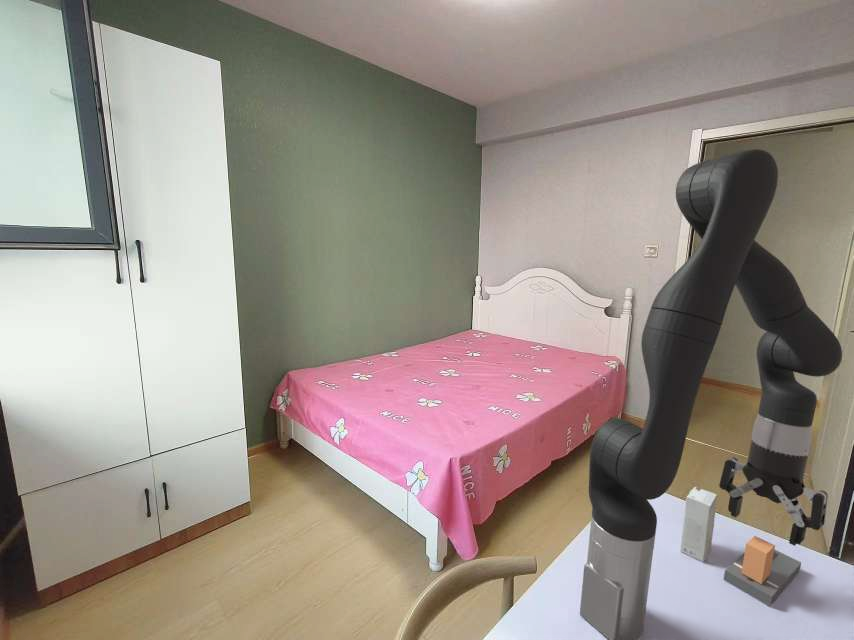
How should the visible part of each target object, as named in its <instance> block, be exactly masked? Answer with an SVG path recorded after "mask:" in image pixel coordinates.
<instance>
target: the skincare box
mask: <svg viewBox="0 0 854 640" xmlns="http://www.w3.org/2000/svg"><path fill="white" fill-rule="evenodd" d="M717 499H718V495H717V494H716V493H714V492H711V491H709V490H705V489H702V488H699V487H697V486H694V487H693V488H692V489H691V490H690V491H689V493H688V495H687V496H686V499H685V507H684V516H683V523H682V524H683V525H682V532H681V533H682V534H681V542H680V553H683V554H684V555H686V556H689V557H690V558H693V559H694V560H696V561H699V562H701V563H703V562H705V561H706V560H707V558H708V556H709V554H710V552H711V549H712V543H713V535H714V527H715V517H716V508H717Z"/></svg>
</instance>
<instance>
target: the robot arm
mask: <svg viewBox="0 0 854 640" xmlns="http://www.w3.org/2000/svg"><path fill="white" fill-rule="evenodd" d="M778 168H779V167H778V165H777V162H776V159H775V158H774V157H773V155H772V154H771V153H770V152H768V151H767V150H763V149H758V148H754V149H745V150H741V151H736V152H733V153H730V154H729V153H728V154H725V155H722V156H719V157H715V158H711V159H708V160H704V161H700V162H698V163H695V164H693V165H691V166H690V167H688V168H687V169H685V170H684V171H683V172H682V173H681V175H680V176H679V178H678V180H677V182H676V183H677V184H676V185H675V186H676V188H675V200H676V203H677V206H678V208H679V210H680V212H681V214H682V216H683V218H685V220H686V221H687V222H688V224H689V225H690V226H691V228H692V229H693V230H694V232H695V233H696V234H697V235H698V236H699V238H700V239H701V241H700V242H699V243H698V246H697V247H696V249H695V250H694V252H693V253H692V254H691V255H690V256H689V257H688V259H687V260H686V261H685V262H684V263H683V265H681V267H679V269H677V270H676V272H675V273H674V274H673V275H672V276H671V277H670V278H669V279H668V280H667V281H666V282H665V284H664V285H662V286H661V289H659V291H658V293H657V294H656V296H655V298H654V299H653V302H652V304H651V307H650V310H649V313H648V316H647V319H646V321H645V324H644V328H643V330H642V334H641V343H640V345H641V354H642V360H643V365H644V369H645V373H646V377H647V383H648V388H649V399H648V400H649V401H648V407H647V408H648V410H647V411H646V416H645V420H644V423H643V427H641V425H640V426H639V424H638V425H637V424H636V423H634V422H631V421H630V420H628V419H624V418H612V419H608V420H607V421H605V422H604V423H602V424H601V425H600V427H599V428H598V429H597V431H596V432H595V434H594V436H593V439H592V442H591V447H590V453H589V465H588V466H589V470H588V471H589V472H588V473H589V474H588V497H589V500H590V505H591V517H590V519H591V520H590V530H589V540H588V549H587V559H586V563H584V565H583V566H584V567H583V575H582V577H583V578H582V586H581V597H580V607H579V615H580V616H581V617H582V618H583V619H584V620H586V621H587V622H588V623H589V624H590V625H592V626H593V627H594V628H595V629H596V630H597V631H598V632H600V633H601V635H603V636H604V637H605V638H606V639H608V640H636V639H638V638H639V637H640V636H642V634H643V632H644V625H645V619H646V612H647V611H646V610H647V603H648V595H649V587H650V586H649V585H650V579H651V573H652V572H651V571H652V564H653V555H654V548H655V540H656V531H657V526H658V525H657V524H658V516H657V512H656V511H655V509H654V507H653V506H652V504H651V503H650V502H649V501H651V500H655V499H658V498H660V497H661V496H662V495H664V494H665V493H666V492H667V491H668V490H669V488H670V487H671V486H672V484H673V482H674V480H675V478H676V476H677V474H678V471H679V467H680V463H681V460H682V456H683V453H684V450H685V449H684V448H685V443H686V439H687V436H688V435H687V434H688V432H689V426H690V422H691V416H692V413H693V410H694V405H695V402H696V399H697V395H698V393H699V392H698V391H699V389H700V386H701V383H702V380H703V376H704V374H705V371H706V369H707V365H708V363H709V360H710V358H711V355H712V353H713V350H714V347H715V345H716V342H717V339H718V336H719V333H720V331H721V328H722V325H723V321H724V318H725V315H726V311H727V308H728V305H729V302H730V300H731V297H732V294H733V291H734V289H735V288H736V289H737V290H738V292H739V294H740V296H741V298H742V301H743V303H744V304H745V307H746V308H747V310H748V312H749V315H750V317H751V318H752V320H753V322H754V324H756V326H757V327H758V328H760V329H761V330H763V331H765V332H764V333H763V334H762V336H760V339H759V341H758V342H757V346H756V360H757V362H756V363H757V367H758V372H759V373H758V374H759V379H760V380H759V381H760V385H761V396H760V401H759V405H758V411H757V412H758V413H757V415H756V419H755V421H754V424H753V427H752V434H751V441H750V444H749V445H750V446H749V452H748V456H747V462H746V464H745V463H743V462H740V461H739V459H738V458H736V457H733V456H732V457H730V458H729V459H727V460H725V462H724V465H723V468H722V469H723V470H722V473H721V477H720V482H719V485H718V486H719V488H720V489H721V490H722V491H724V490H725V491H726V492H727V493H728V494H729V501H728V506H727V508H728V512H729V513H730V516H732V517H734V518H737V517H738V516H739V515H740V514H741V509H742V503H743V498H744V496H742V495H744V494H746V493H748V492H749V493H750V491H753V492H754V493H756V494H755V495H757V496H759V497H762V498H766V499H768V500H770V501H772V502H774V503H775V504H782V506H783V508H784V510H785V511H786V512H787V513H788V514H789V515H790V517H791V519H792V520H793V522H794V523H792V525H791V531H790V536H789V540H788V541H789V542H788V543H789V544H790V545H792V546H794V547H795V546H796V545H800V544H801V543H802V542H804V540H805V537H806V533H807V532H806V531H807V528H808V529H809V528H811V529H812V530H814V531H819V530H820V529H821V528H822V527H823V526H824V525H825V522H826V513H827V505H828V498H829V497H828V493H827V492H826V491H825V490H821V489H820V490H818V491H817V490H815V489H812V488H809V487H806V486H805V484H804V483H805V482H804V477H805V473H806V467H807V463H808V457H809V452H810V451H811V447H812V445H811V442H812V437H813V435H812V429H813V423H814V417H815V412H816V407H817V402H818V401H817V400H818V399H817V397H818V396H817V395H816V393H815V392H814V391H813V390H811V389H810V388H808V387H806V386H805V385H803V384H801V383H800V382H799V381H797V379H796V376H795V373H796V374H797V373H798V374H800V375H804V376H807V377H817V378H818V377H825V376H828V375H831V374H832V373H834V372H835V371H837V369H838V368H839V366H840V364H841V363H842V360H843V359H842V358H843V350H842V345H841V343H840V341H839V339H838V337H837V336H836V335H835V333H834V332H833V331H832V330H831V329H830V328H829V326H827V324H825V322H824V321H823V320H822V319H821V318H820V317H819V316H818V315H817V314H816V313H815V312H814V310H812V309H811V308H810V307H809V306H808V304H807V302H806V299H805V297H804V295H803V292H802V291H801V288H800V286H799V284H798V282H797V279H796V278H795V277H794V274H793V273H792V272H791V270H790V269H789V268H788V267H787V266H786V265H785V264H784V263H783V262H782V261H781V260H780V259H779V258H778V257H776V255H774V254H772V253H771V252H770V251H769V250H767V249H766V248H764V246H762V245H761V244H759V242H757V241H756V240H755V239H756V237H757V235H758V233H759V231H760V230H761V227H762V225H763V222H764V221H765V218H766V216H767V215H768V212H769V211H770V207H771V205H772V203H773V200H774V198H775V194H776V191H777V187H778V181H779V170H778ZM740 471H742V474H743V475H744V477H745V479H746V480H747V482H745V483H743V484H742V485H739V486H736V485H734V483H733V482H734V479H735V475H736V474H738V473H739V472H740ZM802 495H804V496H805V497H806V498H807V502H808V503H809V504H811V510H810V511H811V513H810V517H809V516H808V515H807V513H806V512H805V510H804V508H803V505H802V502H801V501H800V499H799V498H798V497H800V496H802Z"/></svg>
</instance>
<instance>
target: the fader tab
mask: <svg viewBox="0 0 854 640" xmlns="http://www.w3.org/2000/svg"><path fill="white" fill-rule="evenodd" d="M775 548H776V545H775V544H773V543H771V542H769V541H767V540H765V539H763V538H760V537H759V536H756V535H754V536H753V537H752V538H751V539H749V540H748V541H747V542H746V543H745V549H744V552H745V554H744V560H743V566H742V572H741V573H742V574H744V575H746V576H748V577H750V578H751V579H753V580H755V581H757V582H758V583H760V584H762V583H763V582H764V581H765V580H766V578H767V577H768V576H769V575H770V571H771V566H772V560H773V555H774V549H775ZM775 550H776V549H775Z"/></svg>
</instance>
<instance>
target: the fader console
mask: <svg viewBox="0 0 854 640" xmlns="http://www.w3.org/2000/svg"><path fill="white" fill-rule="evenodd" d="M744 554H745V551H744V552H743V553H742V554H741V555H740V556H739V557H737V558H736V559H735V560H734V561H733V562H732V563H731V564H730V565H728V567H726V568H725V570H724V574H723V581H725V582H727V583H729V584H730V585H732V586H734V587H735V588H737V589H739V590H740V591H742V592H743V593H745V594H747V595H749V596H751V597H752V598H754V599H755V600H757V601H759V602H760V603H762V604H765V605H766V606H768V607H772V605H773V604H774V603H775V602H776V600H777V599H779V597H780V596H781V595H782V593H783V592H784V591H785V590H786V588H788V586H789V585H790V584H791V583H792V581H793V580H794V579H795V578H796V576H797V575H799V573H800V571H801V568H802V567H801V566H802V562H801V561H799V560H797V559H795V558H793V557H791V556H789V555H788V554H785V553H783V552H781V551H779V550H777V549H774V555H773V560H772V566H771V571H770V575H769V576H768V577H767V578H766V580H765V581H764V582H763V583H762V584H760V583H758V582H757V581H755V580H753V579H751V578H750V577H748V576H746V575H744V574H742V573H741V572H742V566H743V560H744Z"/></svg>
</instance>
